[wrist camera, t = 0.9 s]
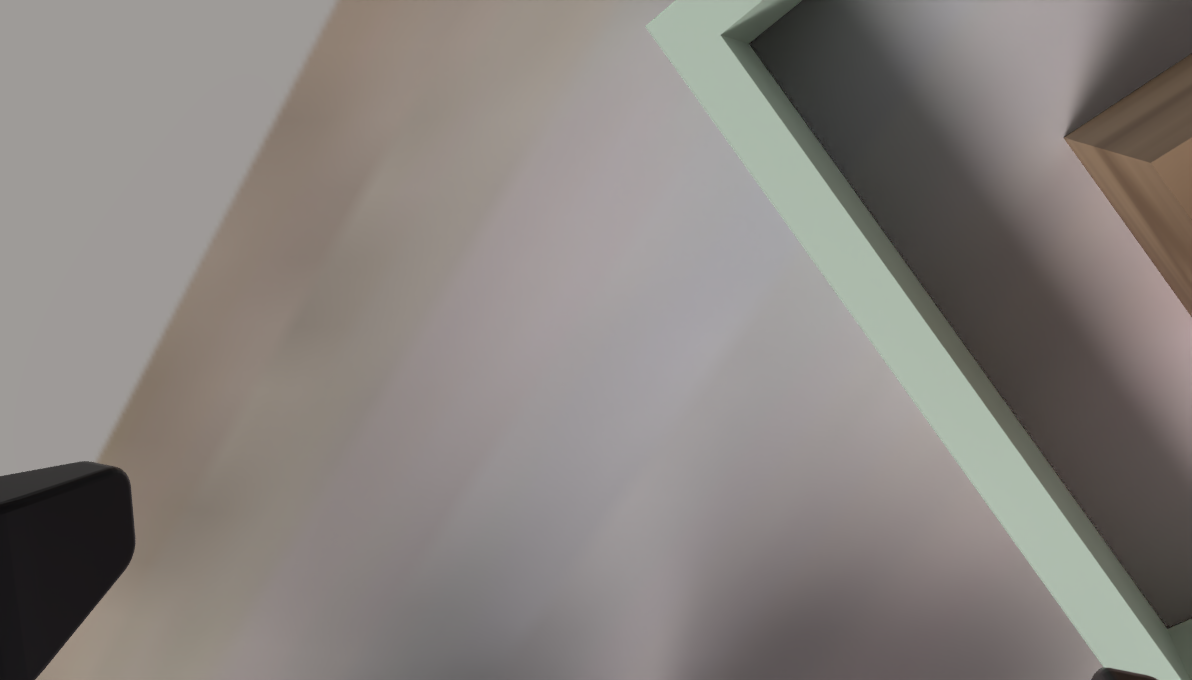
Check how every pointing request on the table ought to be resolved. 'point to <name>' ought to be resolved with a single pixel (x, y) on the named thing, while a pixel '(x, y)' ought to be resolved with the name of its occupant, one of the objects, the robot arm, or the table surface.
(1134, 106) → the walnut block
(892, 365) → the green square frame
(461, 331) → the table surface
